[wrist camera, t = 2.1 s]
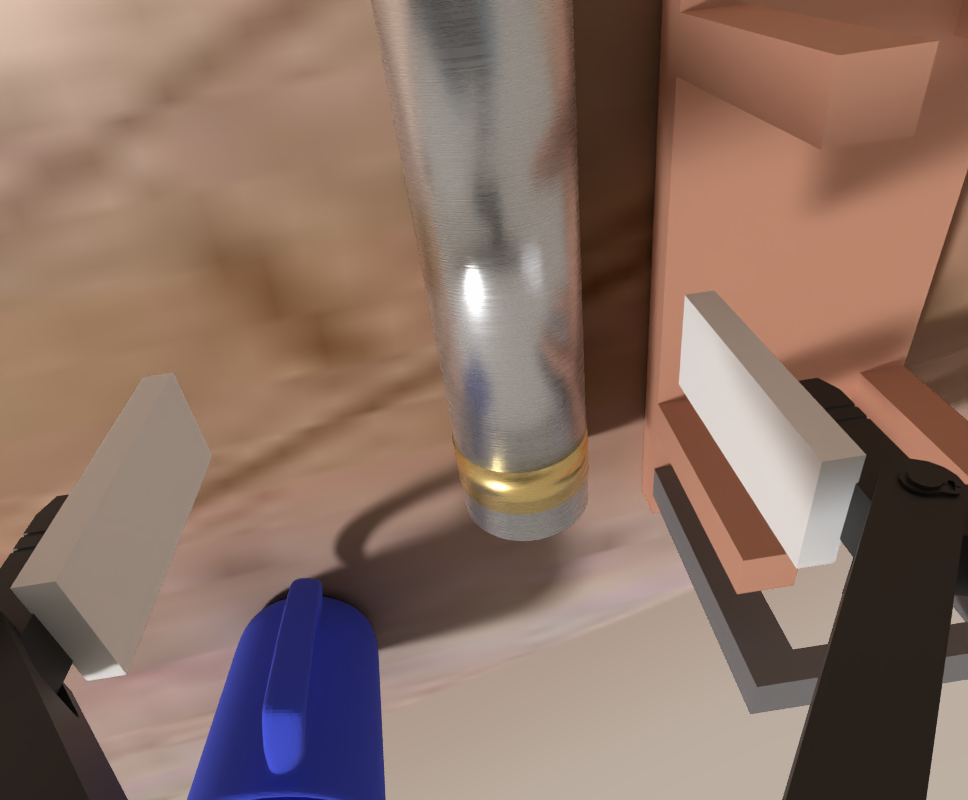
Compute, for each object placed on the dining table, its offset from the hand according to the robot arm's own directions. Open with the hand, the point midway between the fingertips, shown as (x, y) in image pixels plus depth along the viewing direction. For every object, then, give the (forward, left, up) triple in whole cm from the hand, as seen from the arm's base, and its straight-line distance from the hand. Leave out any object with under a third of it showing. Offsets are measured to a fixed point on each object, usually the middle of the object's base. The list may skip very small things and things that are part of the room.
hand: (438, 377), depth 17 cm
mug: (+18, -9, -8) cm, 21 cm away
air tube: (0, 0, -6) cm, 6 cm away
